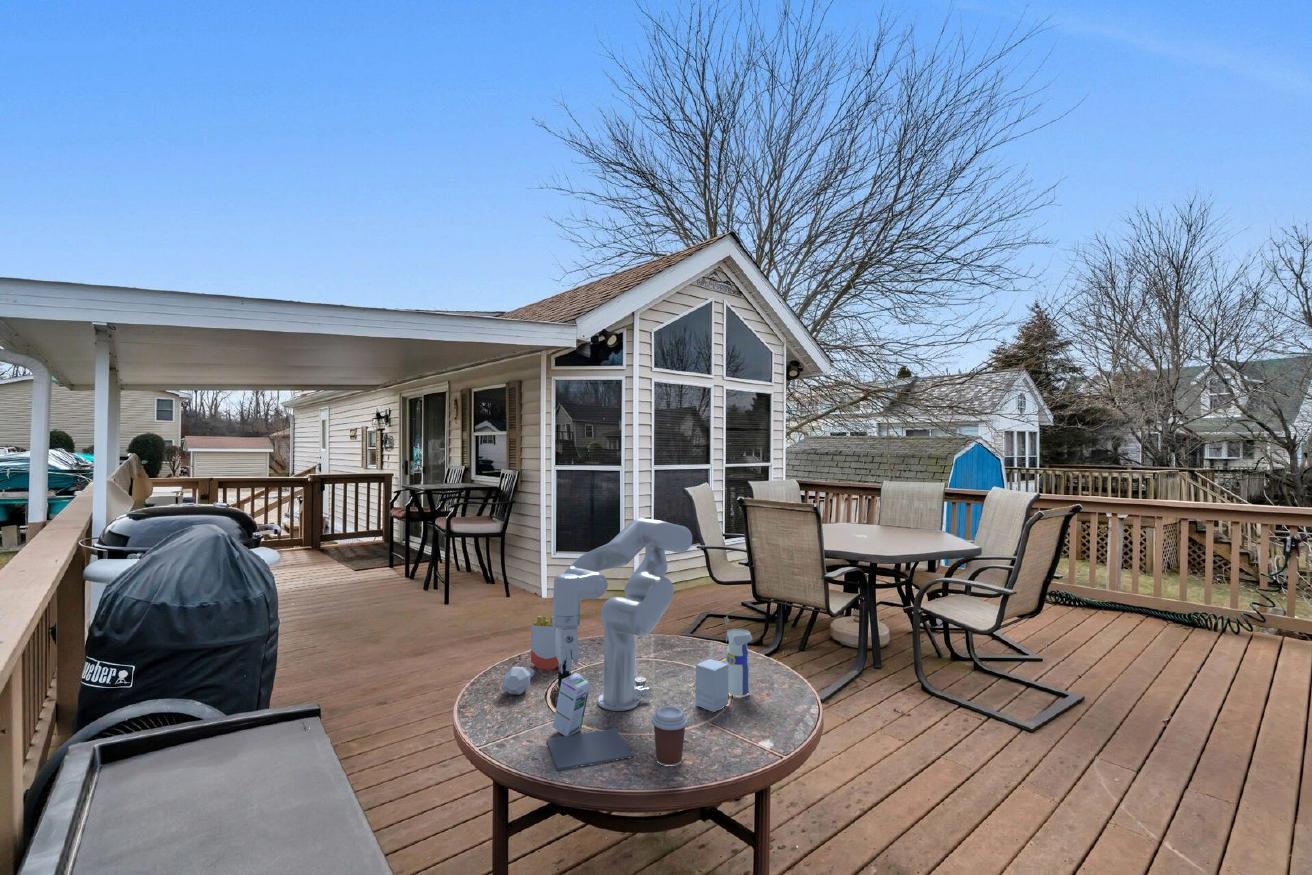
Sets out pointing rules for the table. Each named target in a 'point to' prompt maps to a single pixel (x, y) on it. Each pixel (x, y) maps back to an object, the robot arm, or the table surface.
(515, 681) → the chicken leg
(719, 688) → the supplement box
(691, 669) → the table surface
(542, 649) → the french fries container
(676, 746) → the coffee cup
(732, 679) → the spray bottle
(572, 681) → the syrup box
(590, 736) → the rubber mat
